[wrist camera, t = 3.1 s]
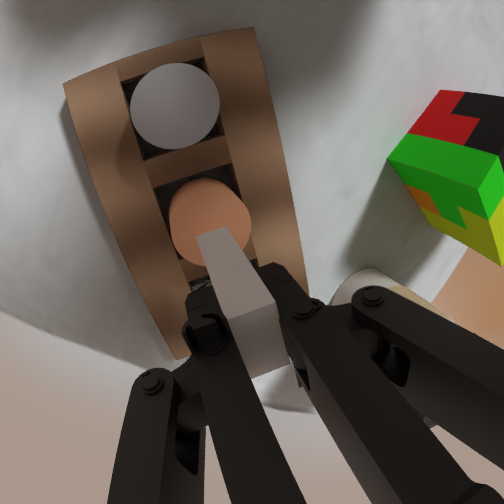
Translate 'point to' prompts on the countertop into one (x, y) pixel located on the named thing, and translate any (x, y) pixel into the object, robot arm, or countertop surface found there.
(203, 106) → the button grey
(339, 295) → the coffee cup
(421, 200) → the puzzle toy
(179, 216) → the button terracotta
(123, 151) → the button board
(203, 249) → the robot arm
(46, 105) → the countertop surface
